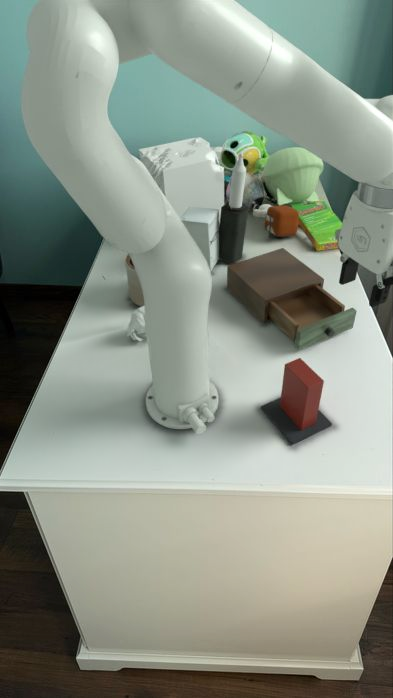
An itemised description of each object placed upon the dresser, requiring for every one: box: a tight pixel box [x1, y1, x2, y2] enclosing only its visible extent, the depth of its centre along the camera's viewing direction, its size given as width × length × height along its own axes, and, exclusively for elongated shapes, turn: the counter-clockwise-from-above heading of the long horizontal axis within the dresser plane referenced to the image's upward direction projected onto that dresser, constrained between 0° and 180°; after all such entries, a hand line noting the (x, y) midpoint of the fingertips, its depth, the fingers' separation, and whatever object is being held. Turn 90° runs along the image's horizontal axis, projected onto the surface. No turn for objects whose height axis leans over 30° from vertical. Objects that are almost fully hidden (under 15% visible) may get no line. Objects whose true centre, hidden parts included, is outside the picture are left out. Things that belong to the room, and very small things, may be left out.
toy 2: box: [252, 203, 299, 237], centre depth 132 cm, size 9×7×15 cm
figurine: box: [126, 306, 146, 342], centre depth 103 cm, size 7×15×7 cm, turn 122°
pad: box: [260, 397, 333, 445], centre depth 86 cm, size 9×8×1 cm
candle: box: [219, 153, 249, 265], centre depth 115 cm, size 5×5×25 cm
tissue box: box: [138, 136, 225, 222], centre depth 129 cm, size 20×16×25 cm
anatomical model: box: [225, 172, 265, 212], centre depth 139 cm, size 10×12×10 cm
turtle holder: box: [220, 130, 270, 175], centre depth 154 cm, size 12×18×12 cm
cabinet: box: [226, 247, 325, 325], centre depth 110 cm, size 15×15×6 cm
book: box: [280, 357, 325, 430], centre depth 82 cm, size 6×3×10 cm, turn 29°
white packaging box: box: [180, 207, 220, 273], centre depth 118 cm, size 7×7×13 cm
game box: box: [290, 199, 343, 252], centre depth 132 cm, size 3×10×20 cm
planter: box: [124, 253, 145, 307], centre depth 110 cm, size 11×11×10 cm
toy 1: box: [260, 146, 324, 206], centre depth 139 cm, size 20×19×15 cm
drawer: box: [267, 284, 358, 351], centre depth 102 cm, size 15×13×4 cm
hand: (361, 291), depth 85 cm, fingers open, 6 cm apart
